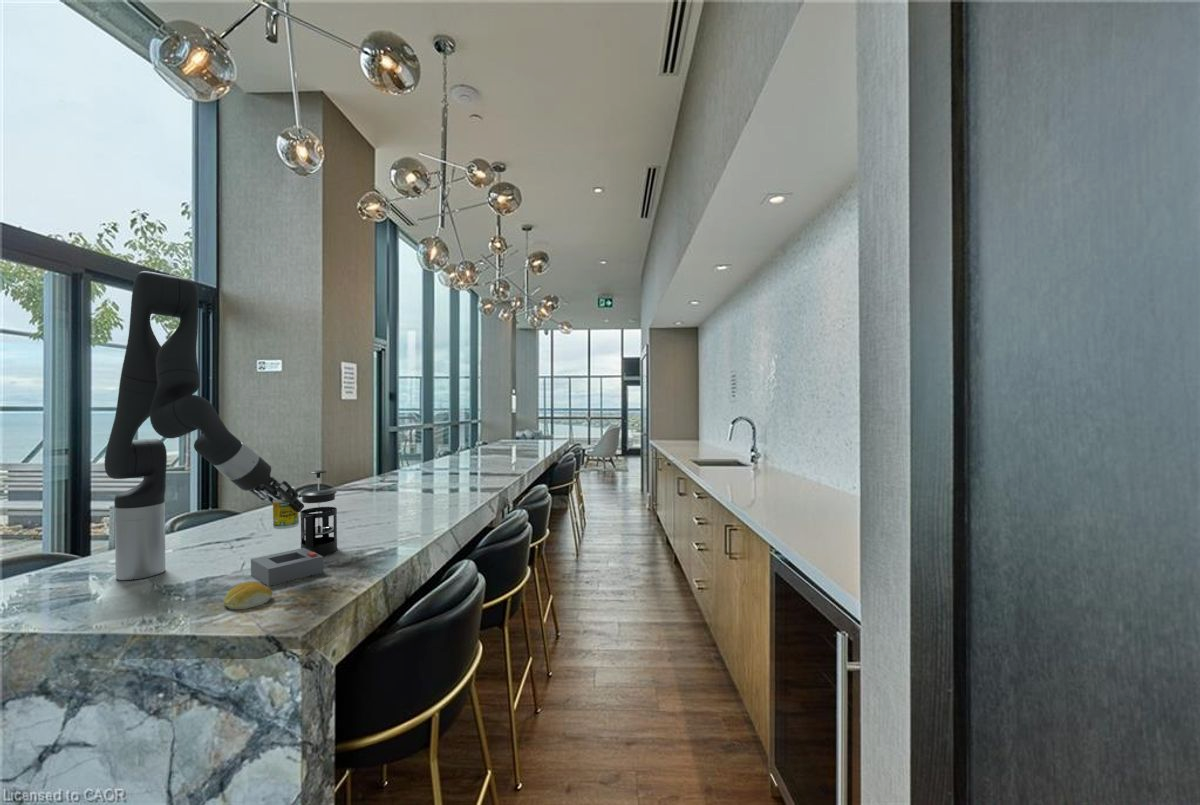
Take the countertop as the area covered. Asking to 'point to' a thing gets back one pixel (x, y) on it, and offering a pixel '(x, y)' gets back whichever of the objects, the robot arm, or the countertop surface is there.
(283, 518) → the supplement bottle
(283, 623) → the countertop surface
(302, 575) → the socket block
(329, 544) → the french press
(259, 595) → the bread roll
